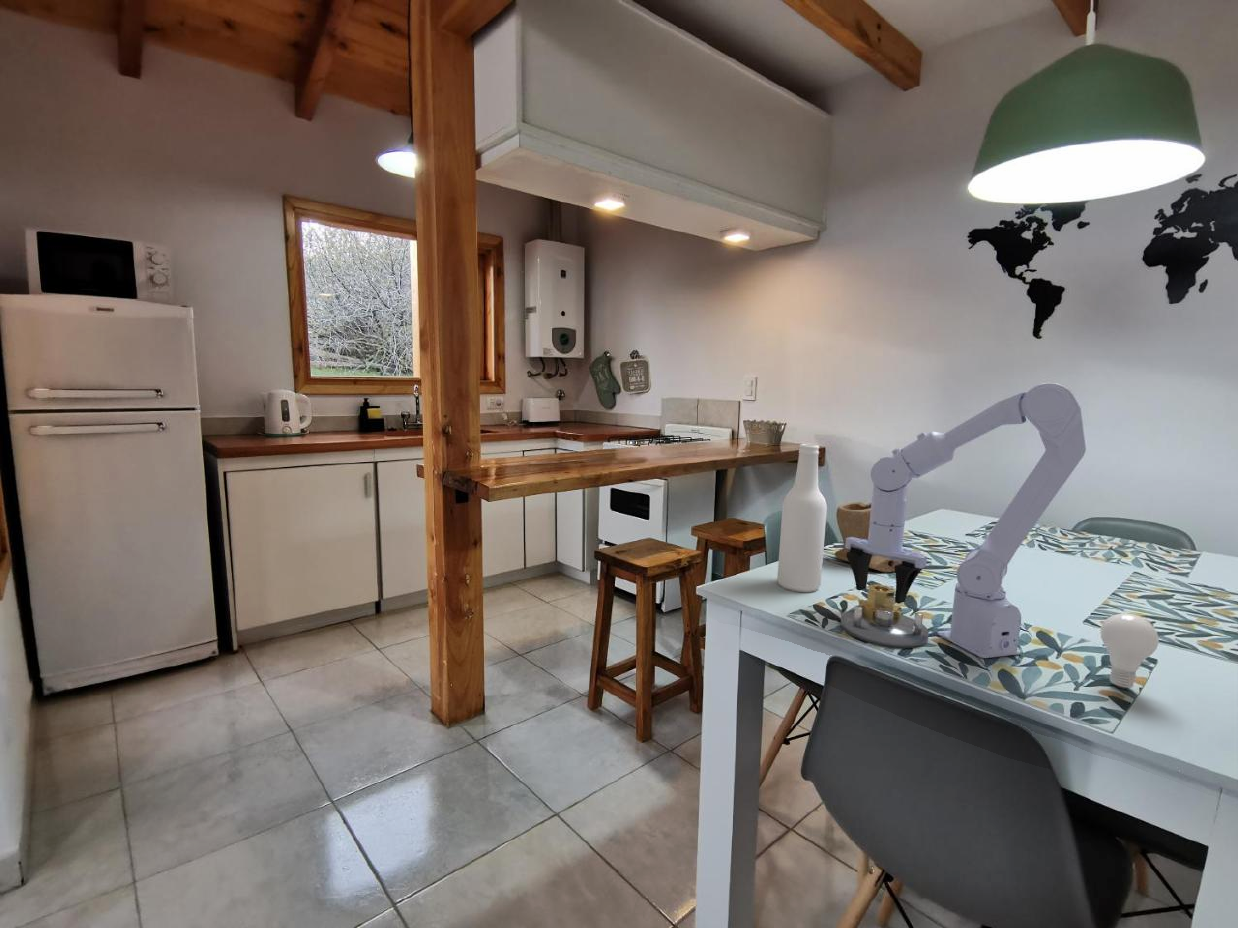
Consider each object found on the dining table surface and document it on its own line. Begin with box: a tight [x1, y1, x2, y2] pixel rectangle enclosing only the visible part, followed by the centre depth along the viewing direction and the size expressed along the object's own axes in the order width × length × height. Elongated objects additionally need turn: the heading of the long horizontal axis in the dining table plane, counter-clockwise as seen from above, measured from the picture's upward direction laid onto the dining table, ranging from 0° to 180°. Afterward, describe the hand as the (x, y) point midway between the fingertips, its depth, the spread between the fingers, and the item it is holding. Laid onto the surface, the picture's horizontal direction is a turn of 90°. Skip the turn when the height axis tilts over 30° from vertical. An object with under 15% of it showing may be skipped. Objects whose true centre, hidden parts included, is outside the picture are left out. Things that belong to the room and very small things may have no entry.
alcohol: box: [776, 443, 828, 593], centre depth 125 cm, size 9×9×30 cm
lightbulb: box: [1100, 612, 1160, 690], centre depth 86 cm, size 6×6×11 cm
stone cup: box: [834, 501, 902, 573], centre depth 142 cm, size 15×12×15 cm
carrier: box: [840, 605, 929, 649], centre depth 105 cm, size 14×14×5 cm
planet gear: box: [857, 583, 902, 619], centre depth 110 cm, size 7×7×4 cm
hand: (879, 595), depth 110 cm, fingers open, 7 cm apart
